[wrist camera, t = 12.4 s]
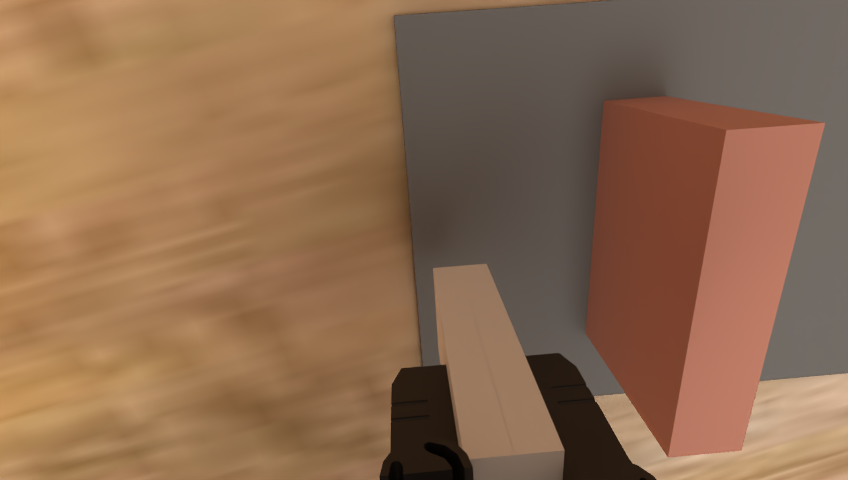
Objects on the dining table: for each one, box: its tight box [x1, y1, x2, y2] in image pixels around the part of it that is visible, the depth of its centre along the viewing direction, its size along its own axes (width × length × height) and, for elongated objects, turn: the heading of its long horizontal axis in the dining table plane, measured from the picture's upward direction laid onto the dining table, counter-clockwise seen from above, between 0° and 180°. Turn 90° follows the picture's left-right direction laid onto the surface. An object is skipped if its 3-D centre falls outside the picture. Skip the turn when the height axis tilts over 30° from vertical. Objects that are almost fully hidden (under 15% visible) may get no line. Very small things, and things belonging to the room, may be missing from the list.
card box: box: [586, 96, 825, 457], centre depth 15 cm, size 2×10×6 cm, turn 4°
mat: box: [394, 0, 848, 396], centre depth 18 cm, size 20×16×1 cm
